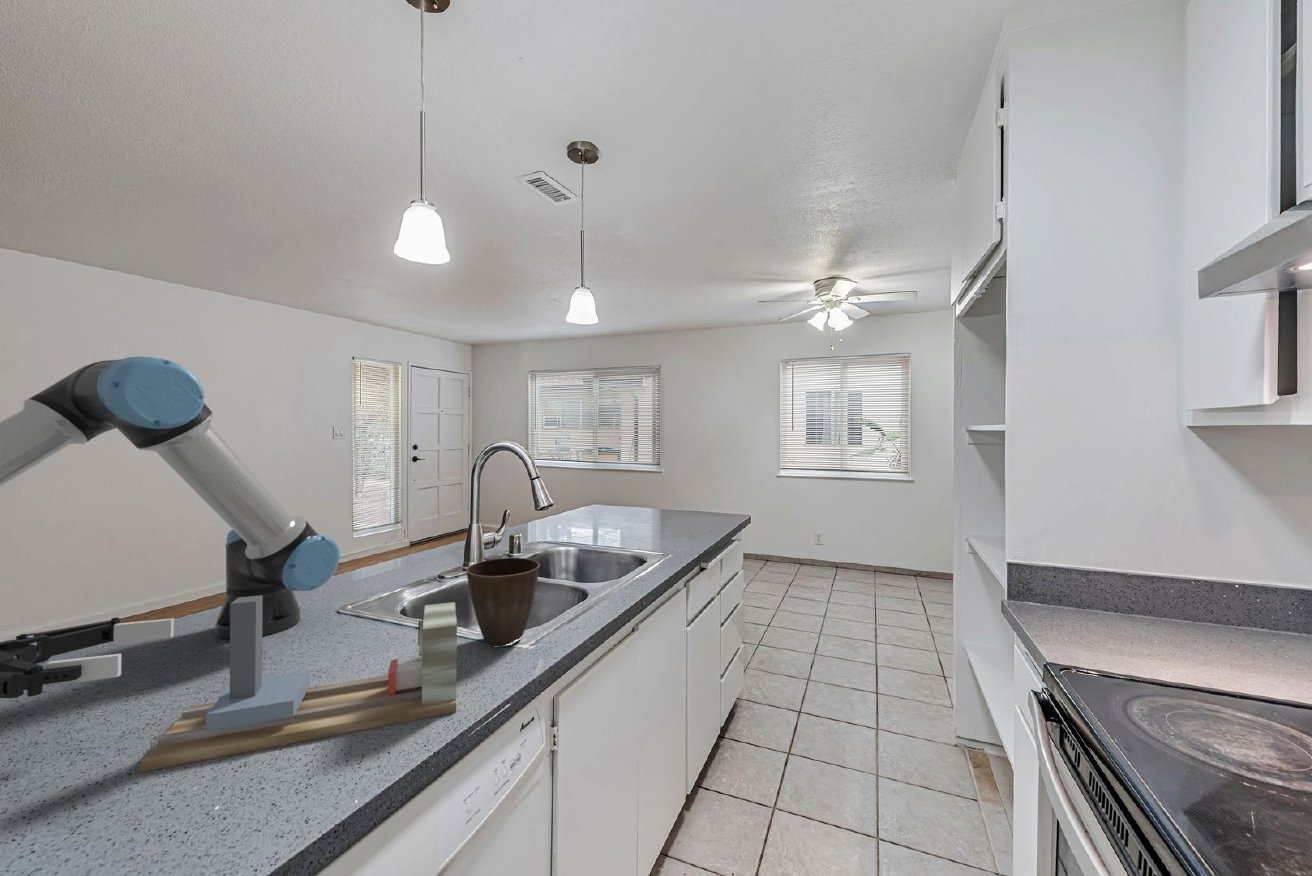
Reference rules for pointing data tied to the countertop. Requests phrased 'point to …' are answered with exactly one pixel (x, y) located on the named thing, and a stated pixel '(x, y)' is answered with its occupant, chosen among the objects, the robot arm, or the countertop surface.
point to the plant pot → (502, 597)
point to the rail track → (328, 705)
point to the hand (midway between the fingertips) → (148, 644)
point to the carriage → (253, 676)
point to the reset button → (404, 676)
